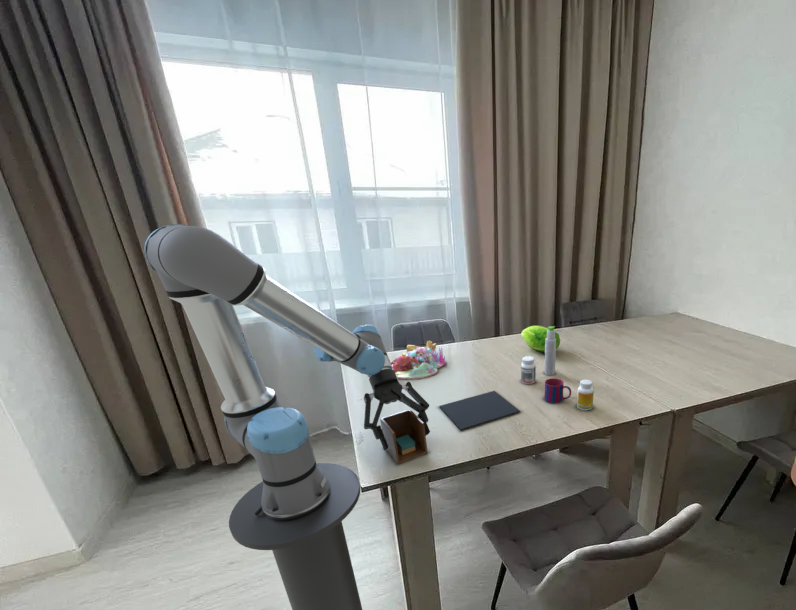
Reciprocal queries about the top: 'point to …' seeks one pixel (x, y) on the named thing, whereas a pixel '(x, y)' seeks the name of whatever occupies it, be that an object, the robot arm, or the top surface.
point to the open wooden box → (403, 426)
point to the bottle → (550, 351)
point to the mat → (478, 410)
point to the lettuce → (537, 337)
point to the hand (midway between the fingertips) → (407, 441)
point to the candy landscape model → (418, 362)
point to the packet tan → (406, 450)
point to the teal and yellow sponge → (405, 442)
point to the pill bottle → (528, 370)
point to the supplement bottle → (585, 395)
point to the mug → (555, 390)
